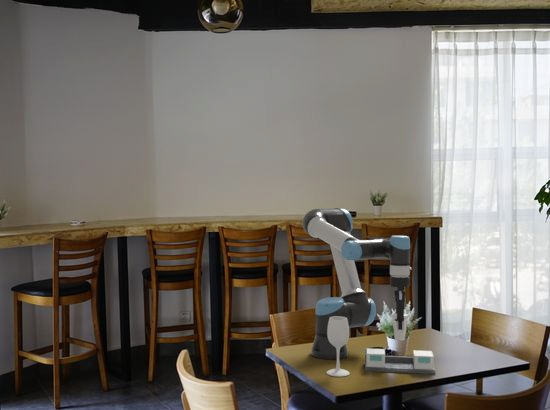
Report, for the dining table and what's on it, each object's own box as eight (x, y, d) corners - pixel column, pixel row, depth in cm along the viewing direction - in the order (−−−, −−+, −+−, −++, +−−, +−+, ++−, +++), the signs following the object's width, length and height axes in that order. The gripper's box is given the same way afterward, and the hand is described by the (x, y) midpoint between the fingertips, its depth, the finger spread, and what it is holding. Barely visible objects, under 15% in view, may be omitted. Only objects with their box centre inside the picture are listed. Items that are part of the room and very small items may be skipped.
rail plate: (365, 370, 242) (365, 361, 242) (365, 363, 252) (365, 354, 252) (435, 374, 238) (435, 364, 238) (432, 366, 248) (432, 357, 248)
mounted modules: (366, 366, 242) (366, 353, 242) (366, 360, 250) (366, 348, 250) (433, 369, 238) (433, 356, 238) (431, 363, 246) (431, 351, 246)
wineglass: (353, 375, 236) (353, 319, 235) (331, 377, 233) (331, 320, 233) (344, 369, 244) (344, 315, 243) (323, 371, 241) (323, 316, 241)
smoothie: (388, 339, 244) (388, 303, 244) (397, 336, 249) (397, 301, 249) (402, 342, 240) (402, 305, 239) (411, 339, 244) (411, 303, 244)
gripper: (411, 279, 234) (411, 342, 234) (408, 272, 253) (408, 330, 253) (390, 279, 235) (390, 341, 235) (389, 272, 254) (389, 330, 254)
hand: (399, 335), depth 244 cm, fingers closed on smoothie, 6 cm apart
